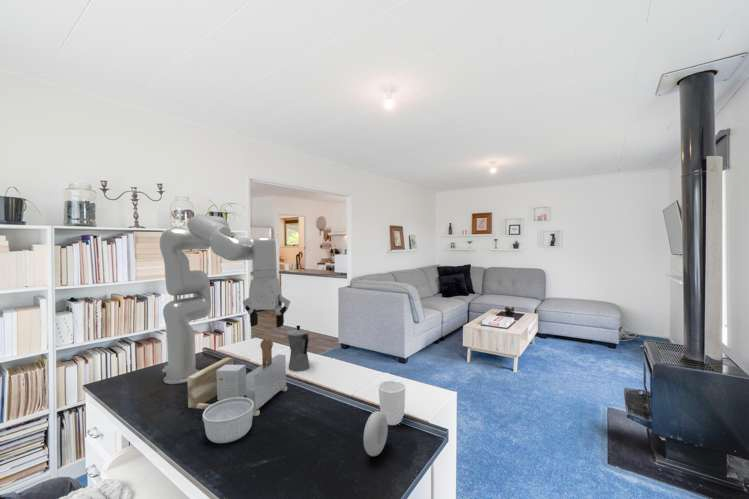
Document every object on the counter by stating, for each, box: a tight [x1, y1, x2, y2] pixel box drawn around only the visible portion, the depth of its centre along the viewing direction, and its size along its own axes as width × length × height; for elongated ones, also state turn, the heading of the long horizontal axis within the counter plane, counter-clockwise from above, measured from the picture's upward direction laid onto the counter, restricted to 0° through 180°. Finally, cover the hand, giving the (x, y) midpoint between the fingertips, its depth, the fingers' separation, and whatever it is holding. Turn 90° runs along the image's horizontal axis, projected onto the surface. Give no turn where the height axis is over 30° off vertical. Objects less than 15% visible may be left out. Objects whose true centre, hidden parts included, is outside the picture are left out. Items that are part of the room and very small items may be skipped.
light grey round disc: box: [362, 410, 389, 457], centre depth 82 cm, size 10×4×10 cm, turn 155°
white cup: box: [378, 380, 406, 426], centre depth 97 cm, size 8×8×10 cm
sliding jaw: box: [245, 338, 287, 411], centre depth 109 cm, size 4×19×20 cm, turn 166°
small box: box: [216, 364, 247, 402], centre depth 113 cm, size 8×6×10 cm
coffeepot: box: [287, 325, 310, 372], centre depth 138 cm, size 15×9×18 cm, turn 37°
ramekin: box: [202, 396, 254, 444], centre depth 92 cm, size 13×13×7 cm
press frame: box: [187, 357, 288, 417], centre depth 112 cm, size 26×19×10 cm
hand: (267, 325), depth 109 cm, fingers open, 9 cm apart
